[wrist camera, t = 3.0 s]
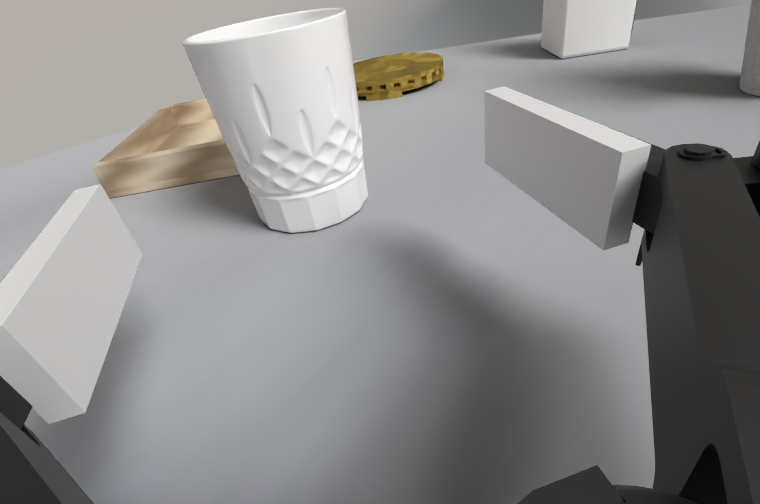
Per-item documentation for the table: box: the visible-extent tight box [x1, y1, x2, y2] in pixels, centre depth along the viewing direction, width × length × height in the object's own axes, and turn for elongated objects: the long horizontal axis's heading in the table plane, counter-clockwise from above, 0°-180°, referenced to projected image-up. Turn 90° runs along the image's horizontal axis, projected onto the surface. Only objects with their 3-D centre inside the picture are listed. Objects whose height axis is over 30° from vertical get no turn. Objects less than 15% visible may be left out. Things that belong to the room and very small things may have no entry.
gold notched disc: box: [353, 53, 444, 101], centre depth 47 cm, size 12×12×2 cm
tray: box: [92, 99, 240, 198], centre depth 37 cm, size 16×16×2 cm
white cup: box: [182, 8, 368, 233], centre depth 23 cm, size 8×8×10 cm
